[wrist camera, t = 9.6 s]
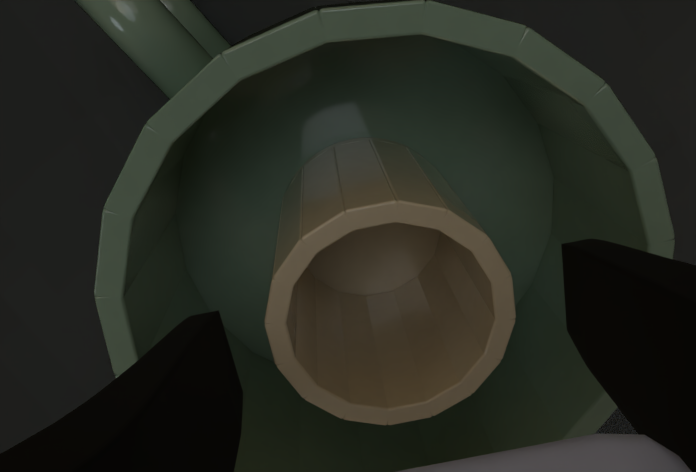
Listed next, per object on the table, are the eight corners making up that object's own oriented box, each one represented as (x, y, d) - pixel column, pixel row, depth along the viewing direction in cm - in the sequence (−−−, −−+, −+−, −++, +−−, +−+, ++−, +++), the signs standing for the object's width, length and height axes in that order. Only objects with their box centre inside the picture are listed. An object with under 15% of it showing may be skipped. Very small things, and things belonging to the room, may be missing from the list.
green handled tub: (636, 230, 19) (770, 324, 14) (344, 446, 22) (357, 601, 16) (300, -236, 14) (296, -384, 9) (-30, 106, 17) (-199, 160, 11)
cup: (439, 120, 17) (503, 179, 12) (460, 282, 19) (525, 400, 13) (260, 156, 17) (238, 231, 12) (299, 313, 19) (296, 444, 13)
